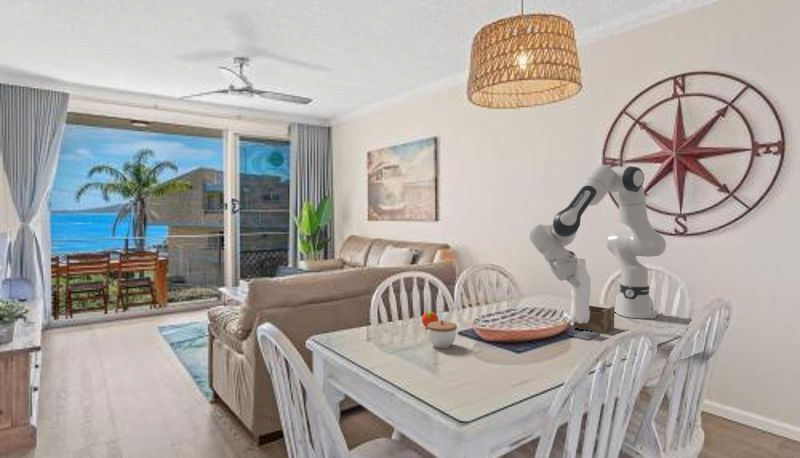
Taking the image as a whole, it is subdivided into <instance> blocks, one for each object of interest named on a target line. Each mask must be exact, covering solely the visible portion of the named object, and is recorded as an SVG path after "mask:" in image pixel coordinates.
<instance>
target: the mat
mask: <svg viewBox="0 0 800 458" xmlns="http://www.w3.org/2000/svg"><path fill="white" fill-rule="evenodd" d="M600 335H601V333H596V332H590V331H585V330H584V331H582V332H580V333H577V334H575V335H573V336H574V337H577V338H576V339H579V338H580V339H579V340H583V341H590V340H592V339H594V338H596V337H598V336H600ZM574 337H573V338H574Z"/></svg>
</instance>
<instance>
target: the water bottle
mask: <svg viewBox="0 0 800 458" xmlns="http://www.w3.org/2000/svg"><path fill="white" fill-rule="evenodd" d="M586 266H587V263H586V259H585V258H578V261H577V269H576V271H575V274H574V275H573V276H572V277H573V279H574V280H575V281H577V282H578V283H579V284H580V285H579V286H578V287H576V288H575V287H574V286H573V285H572V284H571V283H570V284H571V287H570V288H571V291H570V294H571V308H570V315H569V316H570V320H571V321H572V322H573V323H574V322H576V321H577V322H578V323H583V322H584V323H587V322H588V321H589V318H590V311H589V306H590V297H591V283H592V282H591V281H592V280H591V277H590V273H588V270H587V267H586Z"/></svg>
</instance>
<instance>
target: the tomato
mask: <svg viewBox="0 0 800 458" xmlns="http://www.w3.org/2000/svg"><path fill="white" fill-rule="evenodd" d="M436 321H439V317H438V314H437V313H435V312H434V311H426V312H425V313H424V314H423V315H422V317H421V322H422V324H423V326H424V327H425V328H426V329H428V327H427V325H428V324H429V323H431V322H436Z"/></svg>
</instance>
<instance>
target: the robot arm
mask: <svg viewBox="0 0 800 458" xmlns="http://www.w3.org/2000/svg"><path fill="white" fill-rule="evenodd" d="M644 182H645V174H644V172H643V170H642V169H641V168H640V167H636V166H632V165H631V166H615V167H614V166H613V167H610V166H609V165H607V164H598V165H597V166H595V167H594V168H593V169H592V170H590V172H589V173H588V174H587V175H586V176H585V177H584V179H583V180H582V182H581V183H580V185H579V187H578V189H577V191H576V195H575V196H574V198H573V199H572V201H571V202H570V203H569V205H567V207H566V208H563V209H562V210H560V211H558V212H557V213H556V214H555V215H554V217H553V221H552V223H551V224H538V225H536V226H535V227H534V228H533V229H532V230H531V232H530V234H529V239H530V242H531V243H532V245H533V247H535V249H536V251H538V252H539V253H540V254H541V255H543V258H544V259H545V260H546V262H547V263H548V264H549V268H550V270H551V272H552V273H553V274H554V276H555V277H556V278H557V280H559V281H562V282H563V281H567V282H568V283H569V284H572V285H573V286H574V287H575V288H576V287H578V286H579V285H580V284H579V283H578V282H577V281H575V280H574V279H573V277H572V276H573V275H574V274H575V271H576V269H577V261H578V259H579V258H578V257H576V253H575V252H574V251H572V250H568V249H567V248H565V247H566V246H568V245H571V243H573V241H574V240H575V237H576V234H577V232H578V229H579V228H580V226H581V220H582V219H581V218H582V215H583V214H584V212H585V211H586V210H587V209H588V207H589V206H596V205H598V204H599V203H600V202H601V201H602V200H603V199H604V198H605V197H606V195H607V193H608V192H611V193H612V192H613V193H618V195H617V196H618V198H617V200H618V213H619V219H620V221H621V223H622V224H624V225H626V226H627V227H629V228H630V230H631V231H617V232H611V233H610V234H609V236H608V237H607V239H606V246H607V247H606V248H607V249H608V251H609V252H610V253H612V254H613V255H614V257H615V258H616V259H617V262H618V263H619V267H620V284H619V292H620V293H618V294H616V298H615V300H616V301H615V308H614V312H616V313H617V314H616V313H615V314H616V315H618V314H619V315H618V316H620V315H621V317H625V318H631V319H654V318H655V319H657V317H658V314H659V310H657V309H654V300H653V299H652V297H651V295H650V289H651V287H650V285H649V283H648V282H649V281H648V280H649V277H648V276H649V271H648V268H647V267H646V266H645V265H643V264H642V263H641V262H639V261H638V258H637V257H646V258H650V257H660V256H661V255H662V254H663V253H664V252H665V250H666V247H667V243H666V240H665V238H664V237H663V236H662V234H660V233H658V232H657V231H656V230H655V229H654V227H653V226H652V225H651V223H650V221H649V219H648V213H647V212H648V211H647V203H646V193H645V189H644V187H643V185H644ZM656 316H657V317H656Z"/></svg>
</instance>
